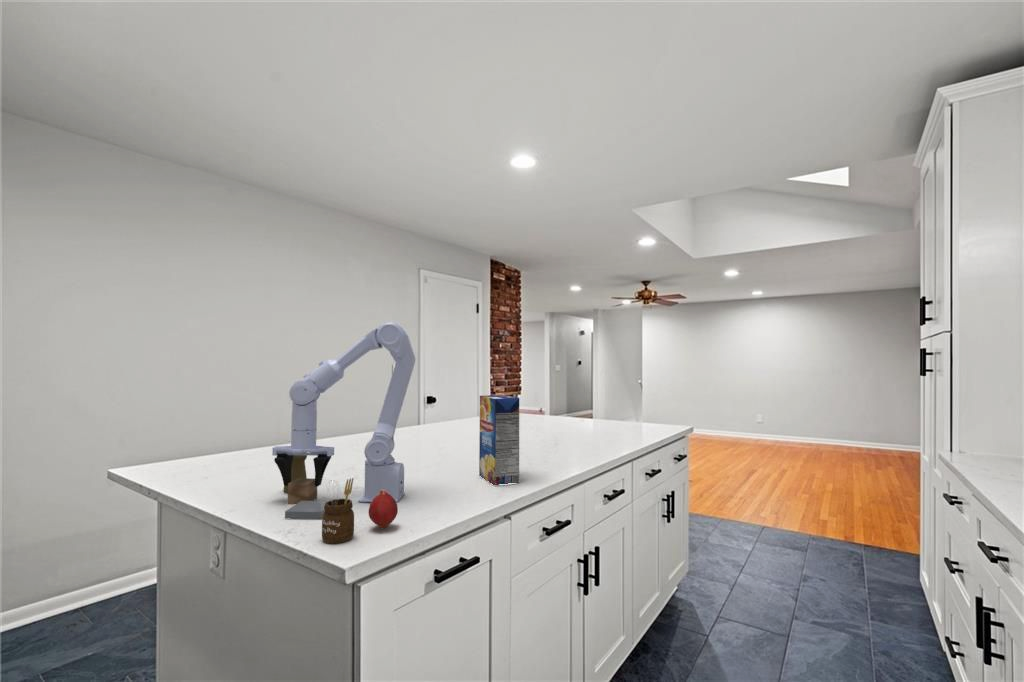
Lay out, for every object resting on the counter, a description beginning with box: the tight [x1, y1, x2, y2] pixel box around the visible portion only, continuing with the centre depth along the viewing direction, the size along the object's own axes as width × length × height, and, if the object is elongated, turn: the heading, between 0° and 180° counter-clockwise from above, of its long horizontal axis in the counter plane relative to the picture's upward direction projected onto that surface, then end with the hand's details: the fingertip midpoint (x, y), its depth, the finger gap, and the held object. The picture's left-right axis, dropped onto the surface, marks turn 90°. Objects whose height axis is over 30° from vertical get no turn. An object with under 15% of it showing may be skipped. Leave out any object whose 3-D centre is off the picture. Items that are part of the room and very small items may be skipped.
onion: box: [368, 490, 398, 529], centre depth 100 cm, size 6×6×8 cm
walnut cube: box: [287, 478, 318, 505], centre depth 118 cm, size 5×5×5 cm
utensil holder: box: [321, 477, 355, 545], centre depth 94 cm, size 6×6×12 cm
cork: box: [282, 455, 308, 495], centre depth 127 cm, size 6×6×11 cm
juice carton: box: [478, 394, 520, 486], centre depth 140 cm, size 12×8×24 cm, turn 25°
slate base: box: [284, 500, 329, 520], centre depth 109 cm, size 8×8×2 cm
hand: (302, 485), depth 118 cm, fingers open, 7 cm apart
